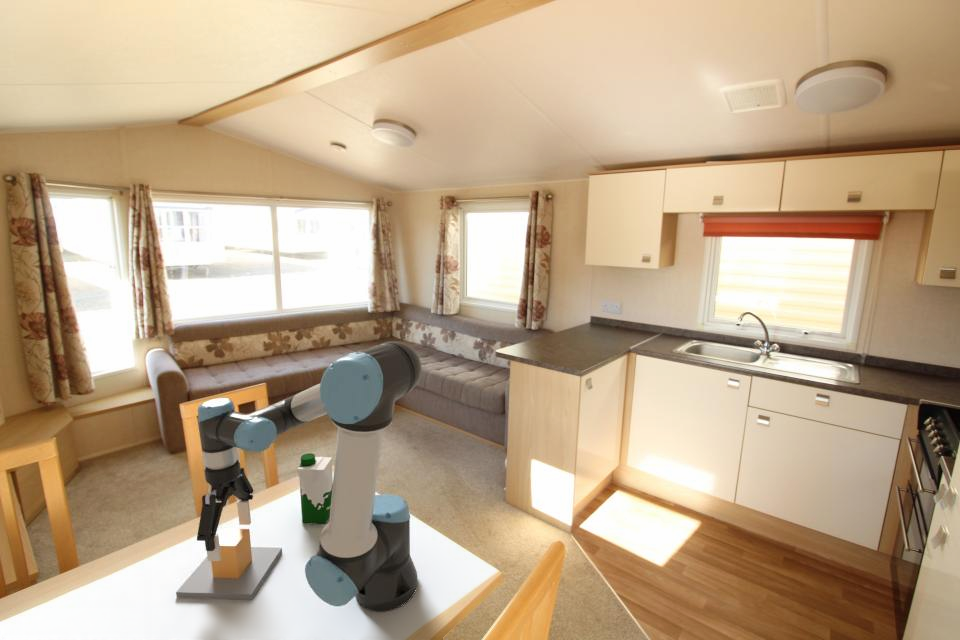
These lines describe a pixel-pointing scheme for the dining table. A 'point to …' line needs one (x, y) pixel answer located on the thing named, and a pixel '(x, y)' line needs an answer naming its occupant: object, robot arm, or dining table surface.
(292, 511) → the dining table surface
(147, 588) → the dining table surface
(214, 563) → the wooden toy block
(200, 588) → the board
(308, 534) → the dining table surface
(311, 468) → the milk carton
